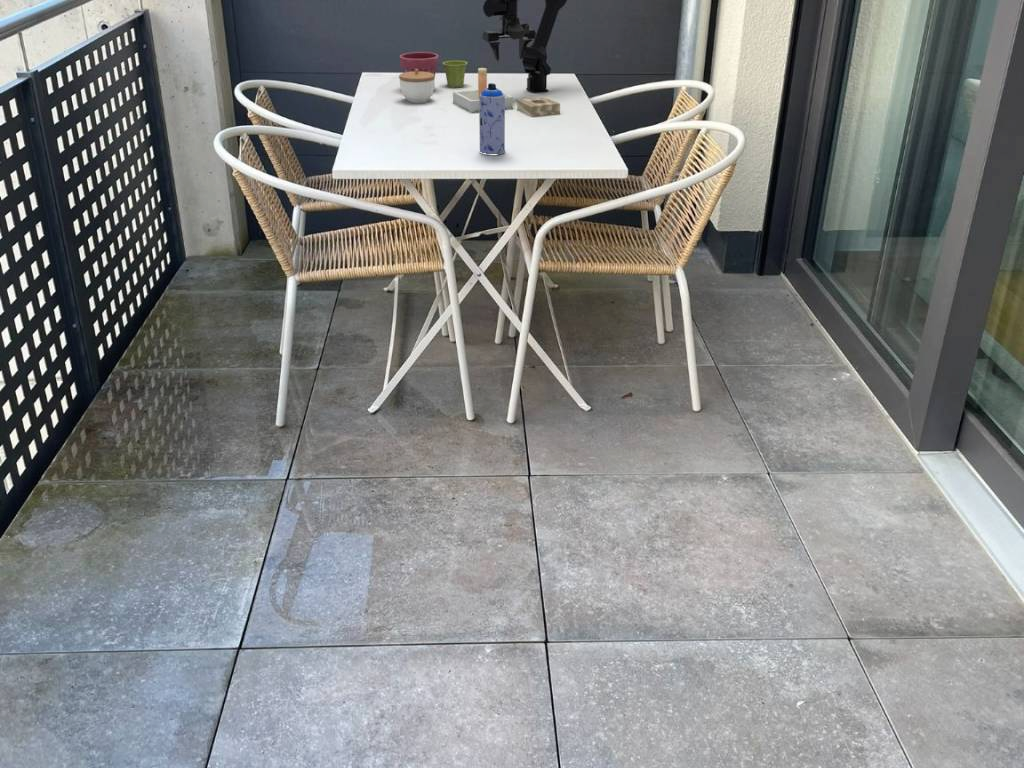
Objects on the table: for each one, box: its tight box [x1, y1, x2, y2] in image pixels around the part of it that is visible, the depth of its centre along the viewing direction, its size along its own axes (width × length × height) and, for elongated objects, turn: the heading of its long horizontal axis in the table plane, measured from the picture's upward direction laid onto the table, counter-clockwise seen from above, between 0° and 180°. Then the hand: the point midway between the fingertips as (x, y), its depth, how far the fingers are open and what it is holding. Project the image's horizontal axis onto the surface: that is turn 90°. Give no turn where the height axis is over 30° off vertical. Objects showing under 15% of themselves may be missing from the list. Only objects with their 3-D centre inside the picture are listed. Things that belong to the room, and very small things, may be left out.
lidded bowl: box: [398, 69, 436, 104], centre depth 361 cm, size 13×13×11 cm
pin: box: [477, 67, 488, 100], centre depth 354 cm, size 3×3×12 cm
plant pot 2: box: [442, 60, 468, 88], centre depth 384 cm, size 9×9×9 cm
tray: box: [452, 89, 514, 113], centre depth 356 cm, size 16×16×4 cm
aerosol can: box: [478, 83, 506, 155], centre depth 298 cm, size 8×8×20 cm
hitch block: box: [516, 96, 561, 118], centre depth 349 cm, size 11×11×4 cm
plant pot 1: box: [399, 51, 440, 76], centre depth 376 cm, size 14×14×13 cm
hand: (509, 59), depth 365 cm, fingers open, 9 cm apart
